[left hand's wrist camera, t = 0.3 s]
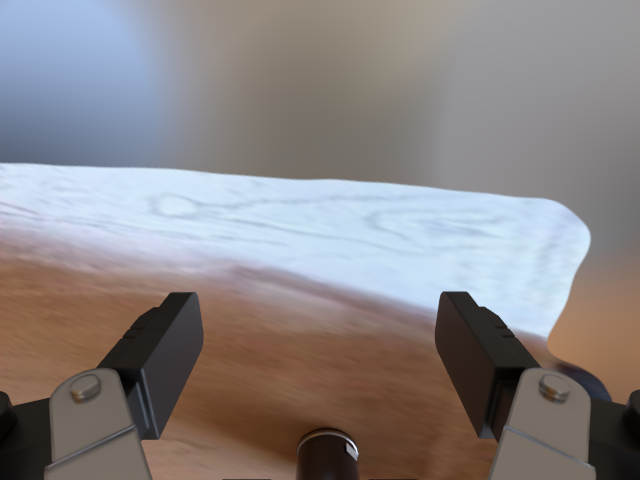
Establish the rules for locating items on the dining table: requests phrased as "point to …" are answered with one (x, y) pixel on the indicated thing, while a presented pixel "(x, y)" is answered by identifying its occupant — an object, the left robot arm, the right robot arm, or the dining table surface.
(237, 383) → the dining table surface
